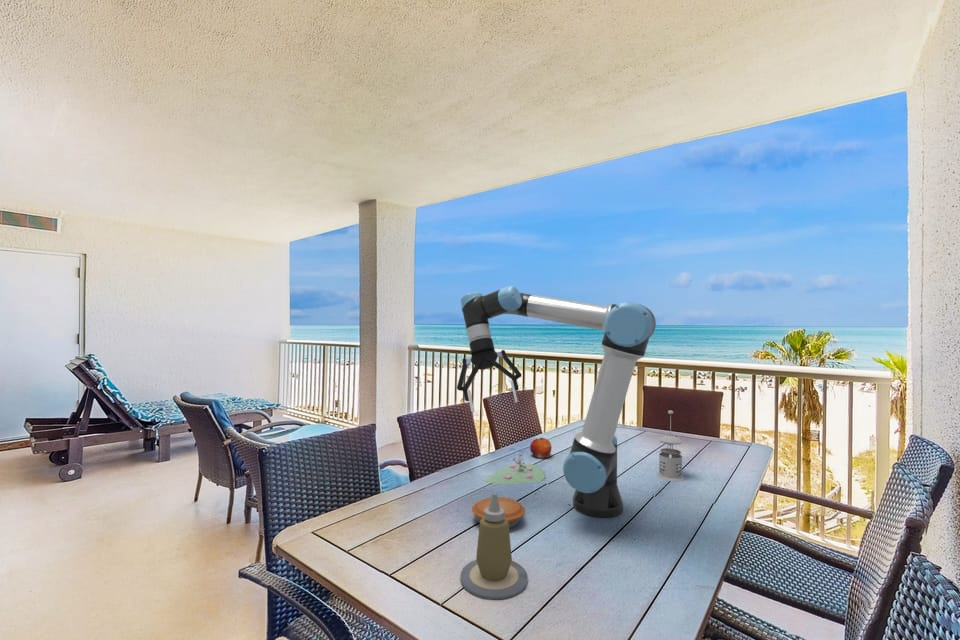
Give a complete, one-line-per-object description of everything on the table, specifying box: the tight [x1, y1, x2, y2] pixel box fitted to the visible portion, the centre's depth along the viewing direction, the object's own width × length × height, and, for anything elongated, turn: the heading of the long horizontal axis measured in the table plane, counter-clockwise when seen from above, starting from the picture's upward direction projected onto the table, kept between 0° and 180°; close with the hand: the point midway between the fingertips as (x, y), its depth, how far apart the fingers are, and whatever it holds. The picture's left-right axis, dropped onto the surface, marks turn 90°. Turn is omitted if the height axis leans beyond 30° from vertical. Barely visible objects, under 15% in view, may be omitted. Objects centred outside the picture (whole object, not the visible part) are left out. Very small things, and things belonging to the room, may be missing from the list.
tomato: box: [529, 437, 553, 459], centre depth 190 cm, size 9×9×8 cm
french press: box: [656, 409, 686, 482], centre depth 166 cm, size 10×12×25 cm
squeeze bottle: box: [475, 492, 513, 581], centre depth 99 cm, size 8×8×18 cm
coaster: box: [460, 559, 529, 601], centre depth 99 cm, size 15×15×1 cm
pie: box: [471, 496, 526, 529], centre depth 128 cm, size 15×16×5 cm
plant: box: [484, 450, 546, 486], centre depth 166 cm, size 25×21×9 cm
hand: (494, 406), depth 134 cm, fingers open, 13 cm apart
